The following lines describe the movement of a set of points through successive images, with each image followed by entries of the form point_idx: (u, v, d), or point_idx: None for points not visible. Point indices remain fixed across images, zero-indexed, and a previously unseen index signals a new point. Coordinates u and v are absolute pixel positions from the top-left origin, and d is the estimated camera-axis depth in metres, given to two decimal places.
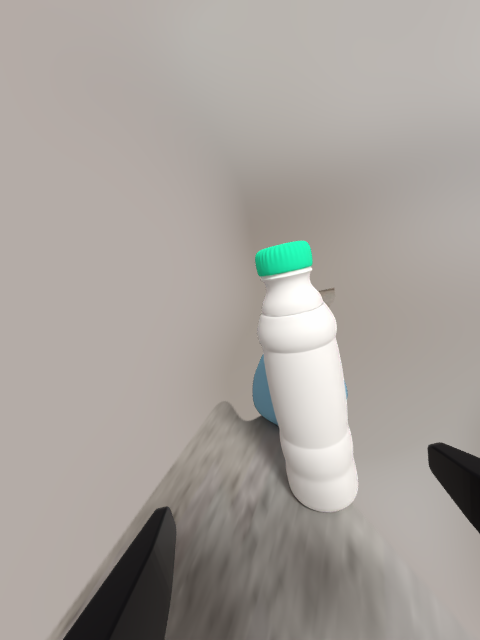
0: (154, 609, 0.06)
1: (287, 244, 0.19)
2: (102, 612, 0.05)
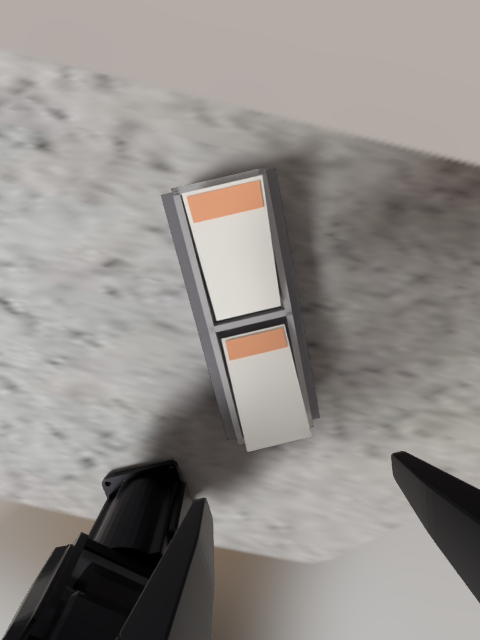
0: (203, 597, 0.06)
1: None
2: (159, 598, 0.05)
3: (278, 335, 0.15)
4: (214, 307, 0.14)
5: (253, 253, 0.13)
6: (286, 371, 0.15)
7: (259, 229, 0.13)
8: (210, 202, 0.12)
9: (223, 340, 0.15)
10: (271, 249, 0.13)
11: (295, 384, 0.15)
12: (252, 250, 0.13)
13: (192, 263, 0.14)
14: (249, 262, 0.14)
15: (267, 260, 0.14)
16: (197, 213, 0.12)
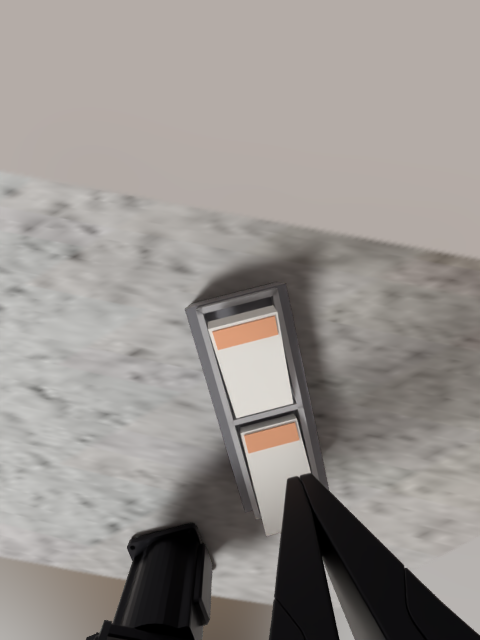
0: None
1: None
2: (302, 565, 0.05)
3: (291, 428, 0.17)
4: (234, 408, 0.16)
5: (269, 367, 0.15)
6: (299, 461, 0.17)
7: (274, 349, 0.15)
8: (232, 333, 0.14)
9: (242, 434, 0.17)
10: (285, 363, 0.15)
11: None
12: (268, 365, 0.15)
13: (214, 369, 0.16)
14: (265, 373, 0.15)
15: (281, 371, 0.15)
16: (221, 342, 0.14)
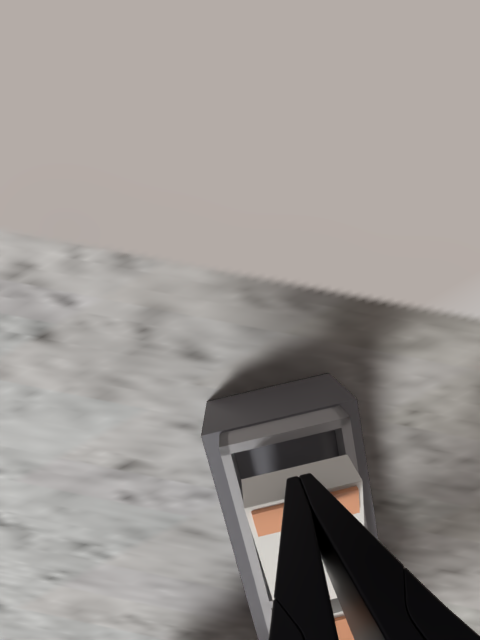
0: None
1: None
2: (301, 565, 0.05)
3: None
4: None
5: None
6: None
7: None
8: None
9: None
10: None
11: None
12: None
13: (243, 531, 0.10)
14: None
15: None
16: (265, 523, 0.08)
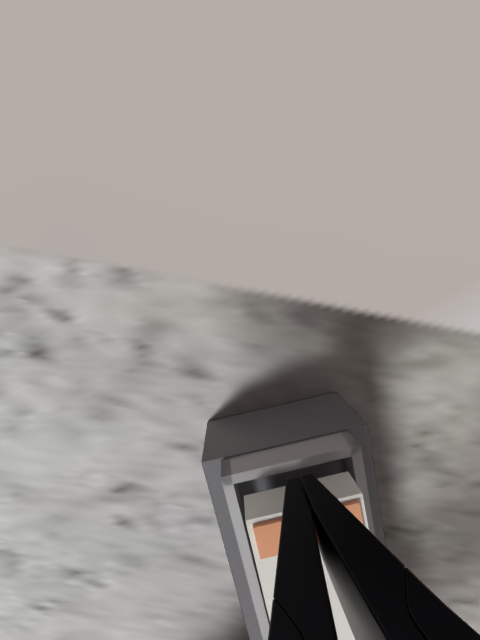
0: None
1: None
2: (301, 565, 0.05)
3: None
4: None
5: None
6: None
7: None
8: None
9: None
10: None
11: None
12: None
13: (246, 566, 0.10)
14: None
15: None
16: (267, 543, 0.08)
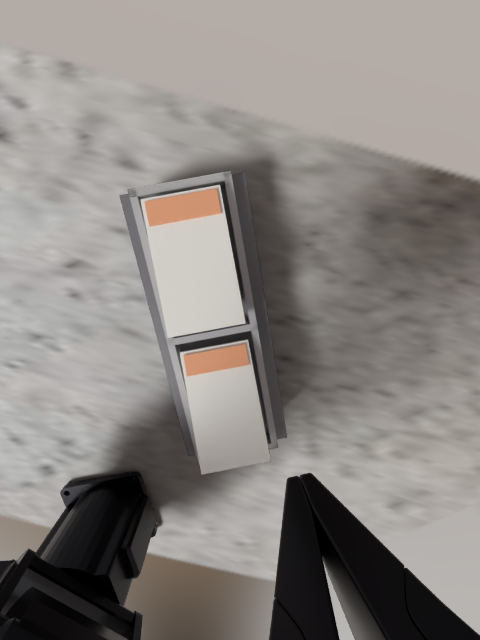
0: None
1: None
2: (302, 565, 0.05)
3: (241, 351, 0.14)
4: (165, 320, 0.12)
5: (212, 259, 0.12)
6: (247, 390, 0.14)
7: (218, 235, 0.12)
8: (167, 208, 0.12)
9: (181, 354, 0.14)
10: (231, 256, 0.12)
11: (256, 405, 0.14)
12: (210, 256, 0.12)
13: (150, 270, 0.13)
14: (207, 269, 0.12)
15: (227, 267, 0.12)
16: (154, 217, 0.12)
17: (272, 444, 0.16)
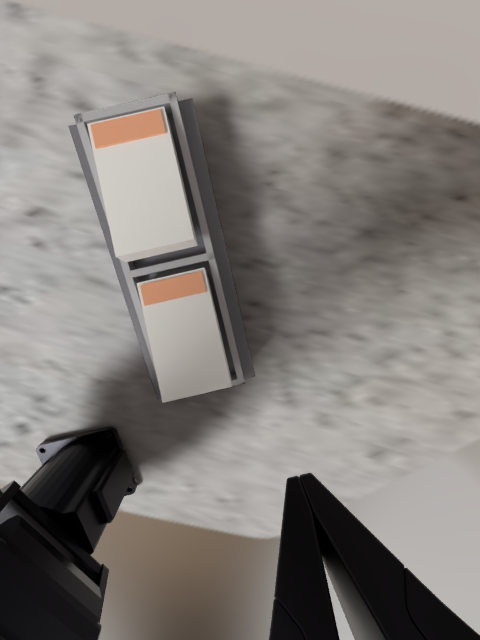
0: None
1: None
2: (302, 565, 0.05)
3: (197, 279, 0.14)
4: (113, 239, 0.12)
5: (158, 178, 0.12)
6: (205, 317, 0.14)
7: (163, 153, 0.12)
8: (113, 130, 0.12)
9: (138, 284, 0.14)
10: (177, 173, 0.12)
11: (214, 331, 0.14)
12: (156, 174, 0.12)
13: (102, 199, 0.14)
14: (153, 187, 0.12)
15: (173, 184, 0.12)
16: (101, 140, 0.12)
17: (238, 380, 0.16)
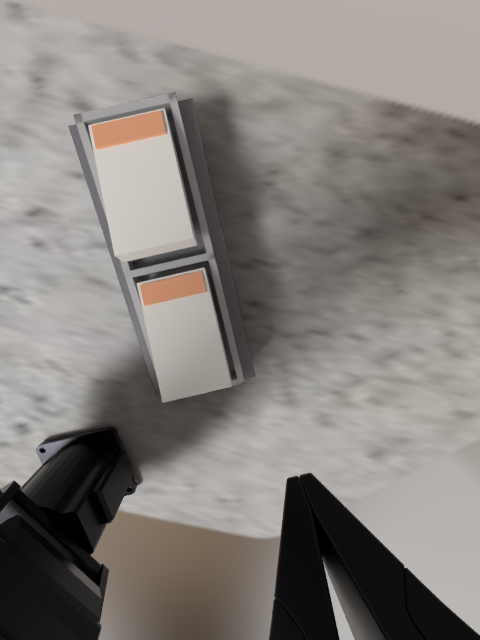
0: None
1: None
2: (302, 565, 0.05)
3: (197, 279, 0.14)
4: (112, 238, 0.12)
5: (158, 177, 0.12)
6: (205, 317, 0.14)
7: (163, 154, 0.12)
8: (114, 131, 0.12)
9: (138, 284, 0.14)
10: (177, 173, 0.12)
11: (214, 331, 0.14)
12: (156, 174, 0.12)
13: (102, 199, 0.14)
14: (153, 186, 0.12)
15: (173, 184, 0.12)
16: (102, 140, 0.12)
17: (238, 380, 0.16)
